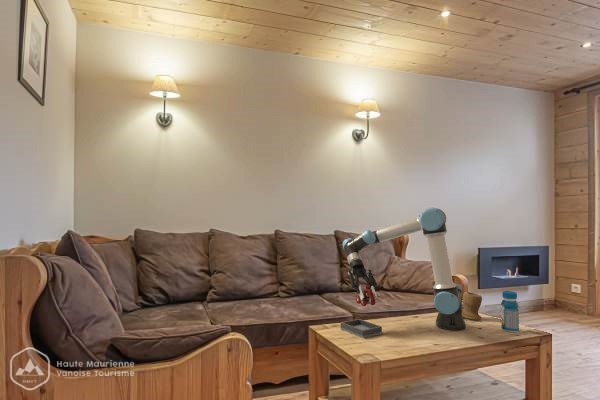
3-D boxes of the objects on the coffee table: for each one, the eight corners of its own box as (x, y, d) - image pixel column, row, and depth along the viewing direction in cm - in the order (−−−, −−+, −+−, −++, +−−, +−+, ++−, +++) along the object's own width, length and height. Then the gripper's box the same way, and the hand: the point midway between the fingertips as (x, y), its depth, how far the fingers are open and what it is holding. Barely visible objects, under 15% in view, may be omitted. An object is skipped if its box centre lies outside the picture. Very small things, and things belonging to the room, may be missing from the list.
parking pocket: (381, 333, 191) (381, 326, 191) (362, 338, 184) (362, 330, 184) (358, 325, 205) (358, 318, 205) (340, 329, 198) (340, 322, 198)
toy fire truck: (365, 307, 192) (366, 287, 192) (354, 302, 203) (354, 282, 203) (377, 306, 194) (377, 286, 194) (365, 301, 206) (365, 282, 206)
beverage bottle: (510, 333, 193) (510, 294, 193) (497, 328, 201) (496, 290, 201) (523, 331, 195) (522, 293, 196) (509, 327, 203) (508, 290, 204)
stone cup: (487, 319, 218) (486, 293, 219) (473, 322, 212) (473, 295, 213) (464, 313, 231) (464, 288, 232) (451, 315, 226) (451, 290, 226)
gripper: (369, 266, 217) (383, 301, 201) (337, 267, 211) (349, 303, 195) (373, 258, 212) (388, 293, 196) (341, 258, 206) (354, 295, 190)
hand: (369, 298), depth 195 cm, fingers closed on toy fire truck, 7 cm apart
